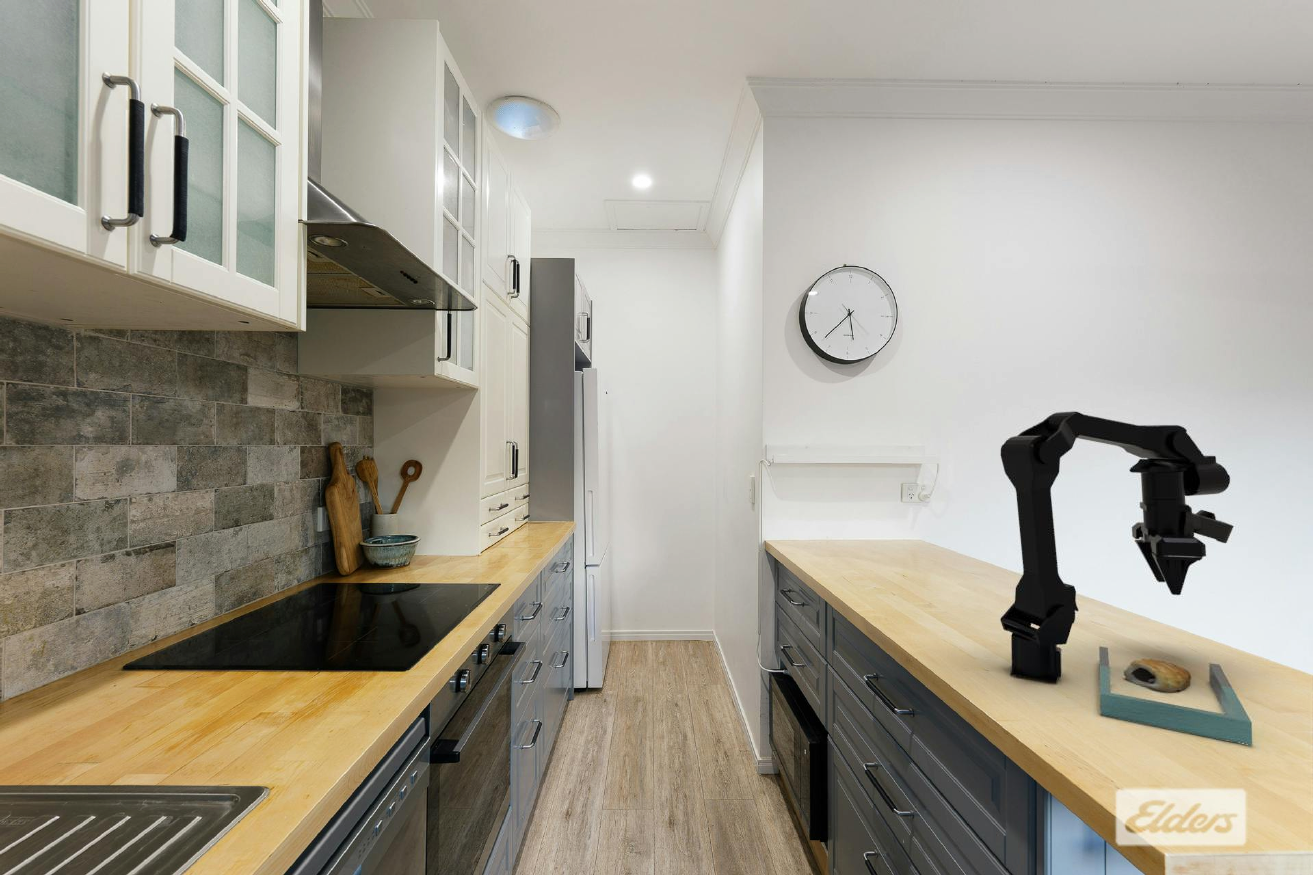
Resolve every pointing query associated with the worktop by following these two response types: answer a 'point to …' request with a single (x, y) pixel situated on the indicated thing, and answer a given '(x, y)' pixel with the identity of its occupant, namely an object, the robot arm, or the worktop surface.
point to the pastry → (1157, 675)
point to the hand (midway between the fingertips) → (1168, 588)
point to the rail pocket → (1180, 709)
